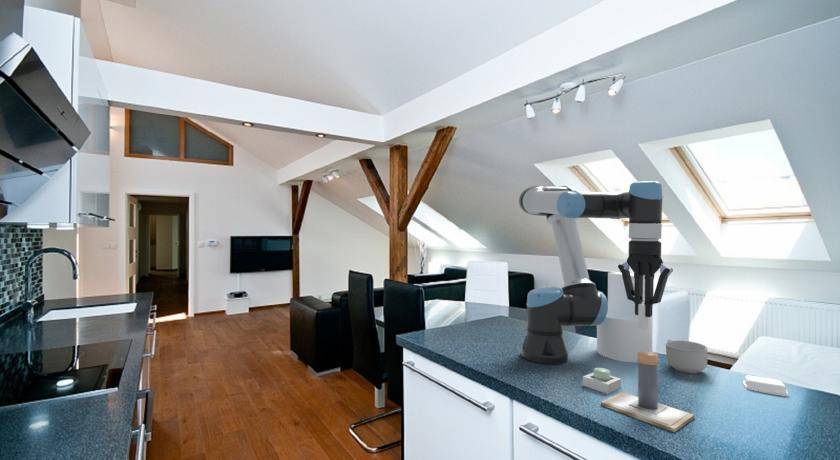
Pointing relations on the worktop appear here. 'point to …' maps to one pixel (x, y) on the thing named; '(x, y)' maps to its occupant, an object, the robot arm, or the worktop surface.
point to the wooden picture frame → (648, 412)
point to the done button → (602, 374)
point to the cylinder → (623, 325)
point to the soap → (765, 385)
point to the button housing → (602, 383)
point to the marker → (648, 380)
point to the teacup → (686, 356)
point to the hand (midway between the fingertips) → (643, 328)
